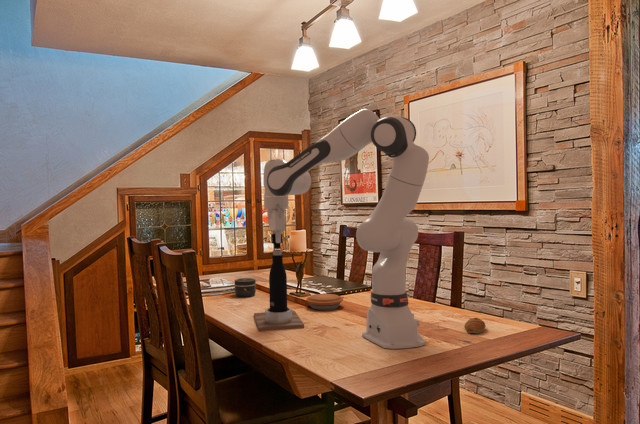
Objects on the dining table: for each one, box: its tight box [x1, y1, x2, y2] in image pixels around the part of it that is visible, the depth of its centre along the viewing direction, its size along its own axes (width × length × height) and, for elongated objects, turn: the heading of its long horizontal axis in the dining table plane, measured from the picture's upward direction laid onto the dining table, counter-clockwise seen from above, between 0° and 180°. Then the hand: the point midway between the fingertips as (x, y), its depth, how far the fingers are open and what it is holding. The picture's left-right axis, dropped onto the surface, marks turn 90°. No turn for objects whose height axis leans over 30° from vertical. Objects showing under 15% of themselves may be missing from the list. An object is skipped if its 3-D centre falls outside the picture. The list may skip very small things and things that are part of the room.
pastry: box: [464, 317, 487, 335], centre depth 163 cm, size 9×7×4 cm
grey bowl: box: [264, 306, 293, 324], centre depth 177 cm, size 10×10×4 cm
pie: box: [306, 293, 344, 311], centre depth 202 cm, size 15×16×5 cm
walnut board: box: [253, 309, 305, 332], centre depth 180 cm, size 22×16×1 cm
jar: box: [234, 277, 257, 298], centre depth 229 cm, size 10×10×8 cm
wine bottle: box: [268, 233, 288, 312], centre depth 176 cm, size 6×6×30 cm
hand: (277, 242), depth 176 cm, fingers closed on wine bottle, 4 cm apart
